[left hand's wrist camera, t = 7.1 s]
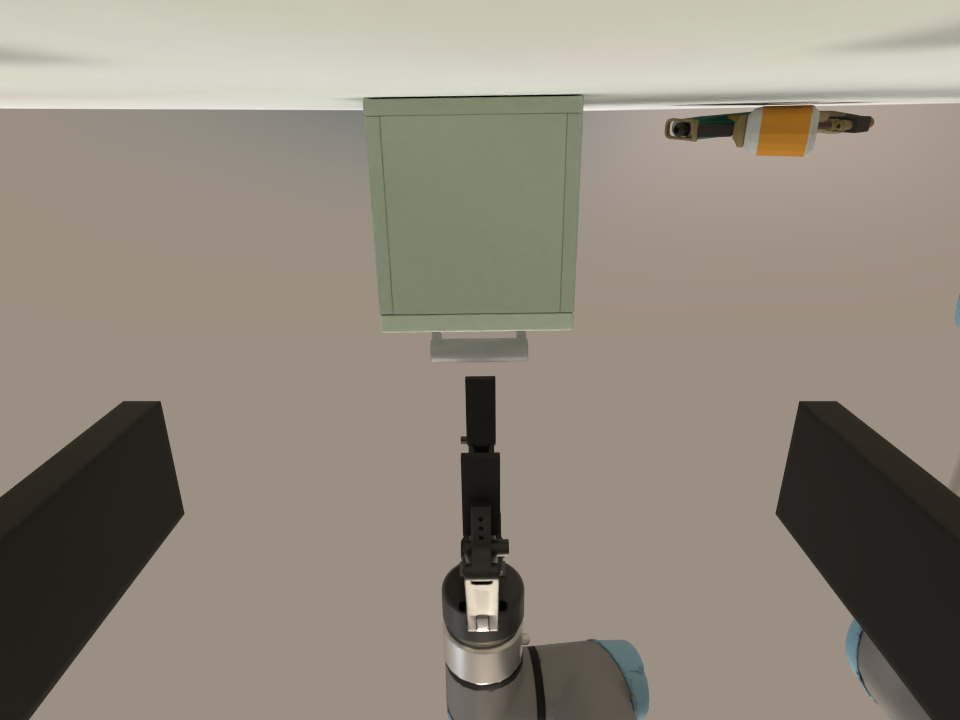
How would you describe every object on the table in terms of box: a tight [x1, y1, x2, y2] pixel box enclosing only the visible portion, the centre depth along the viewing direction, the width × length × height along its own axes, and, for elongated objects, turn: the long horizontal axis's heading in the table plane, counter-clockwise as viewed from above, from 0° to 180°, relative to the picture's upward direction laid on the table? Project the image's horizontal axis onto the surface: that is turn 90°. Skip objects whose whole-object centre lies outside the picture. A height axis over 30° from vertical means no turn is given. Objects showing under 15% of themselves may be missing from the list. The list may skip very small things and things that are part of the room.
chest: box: [363, 96, 584, 314], centre depth 37 cm, size 17×10×10 cm, turn 0°
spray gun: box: [665, 105, 874, 157], centre depth 59 cm, size 4×17×15 cm
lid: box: [380, 312, 574, 363], centre depth 40 cm, size 17×10×8 cm, turn 0°
